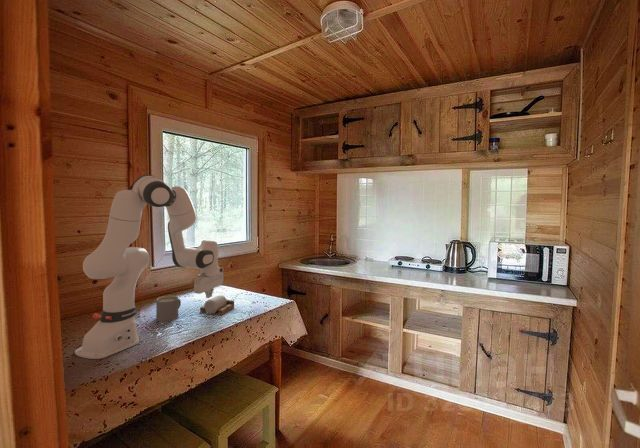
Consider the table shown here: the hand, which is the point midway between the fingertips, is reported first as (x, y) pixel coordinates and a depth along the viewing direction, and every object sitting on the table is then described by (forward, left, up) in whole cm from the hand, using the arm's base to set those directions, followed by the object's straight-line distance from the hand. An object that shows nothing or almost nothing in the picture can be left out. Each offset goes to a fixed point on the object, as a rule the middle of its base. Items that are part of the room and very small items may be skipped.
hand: (209, 297), depth 163 cm
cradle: (+8, +1, -10) cm, 13 cm away
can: (+1, +1, -6) cm, 6 cm away
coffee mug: (-8, +17, -10) cm, 21 cm away
